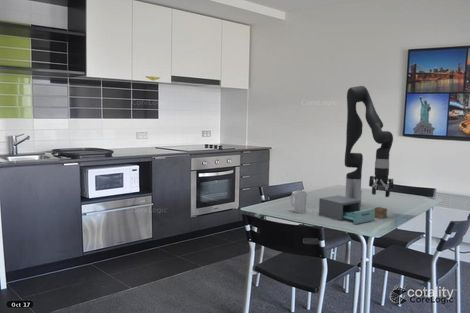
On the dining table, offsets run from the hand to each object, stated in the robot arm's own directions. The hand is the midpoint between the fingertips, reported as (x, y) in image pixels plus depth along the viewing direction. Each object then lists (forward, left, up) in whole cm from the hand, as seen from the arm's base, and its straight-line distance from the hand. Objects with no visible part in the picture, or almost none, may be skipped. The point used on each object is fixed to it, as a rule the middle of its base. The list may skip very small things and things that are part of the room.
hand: (380, 195), depth 237 cm
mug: (+30, -34, -12) cm, 47 cm away
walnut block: (-1, 0, -12) cm, 12 cm away
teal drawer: (+17, -4, -12) cm, 21 cm away
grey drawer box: (+17, -14, -12) cm, 25 cm away
